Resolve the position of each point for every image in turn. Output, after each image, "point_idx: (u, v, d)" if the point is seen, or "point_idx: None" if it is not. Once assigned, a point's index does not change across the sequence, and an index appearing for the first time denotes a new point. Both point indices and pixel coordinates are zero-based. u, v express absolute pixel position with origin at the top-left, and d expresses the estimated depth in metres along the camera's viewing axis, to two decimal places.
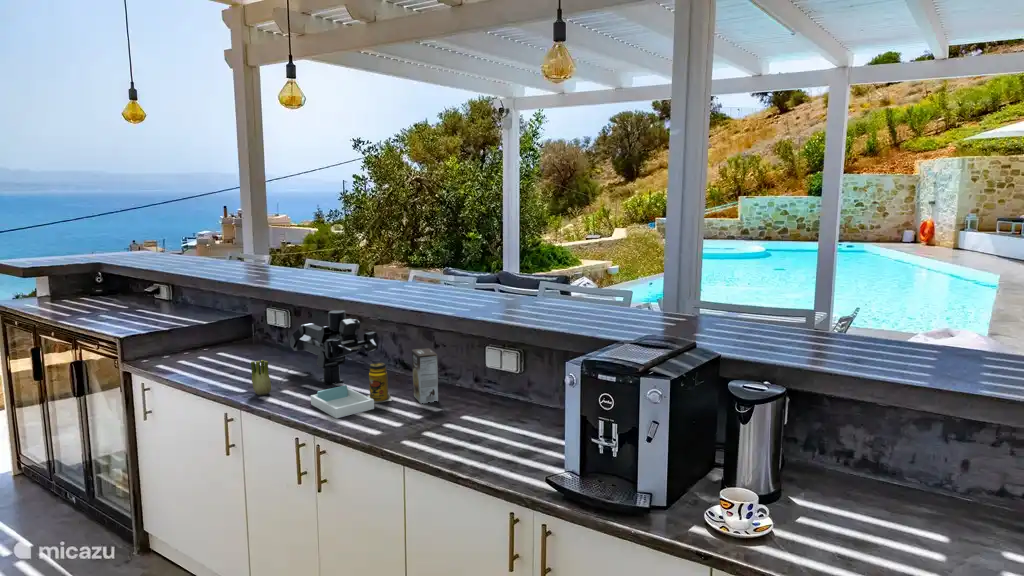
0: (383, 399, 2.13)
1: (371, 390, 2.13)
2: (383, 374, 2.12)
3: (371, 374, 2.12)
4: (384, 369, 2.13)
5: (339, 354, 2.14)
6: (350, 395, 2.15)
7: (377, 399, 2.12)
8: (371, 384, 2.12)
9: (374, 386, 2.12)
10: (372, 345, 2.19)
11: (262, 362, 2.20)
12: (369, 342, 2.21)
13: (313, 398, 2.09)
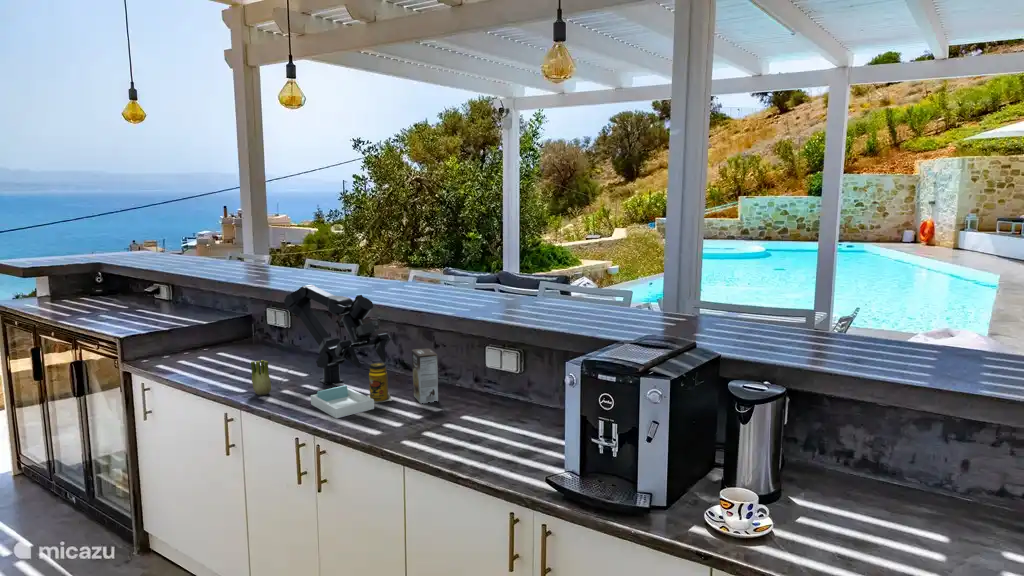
0: (383, 399, 2.13)
1: (371, 390, 2.13)
2: (383, 374, 2.12)
3: (371, 374, 2.12)
4: (384, 369, 2.13)
5: (348, 358, 2.16)
6: (350, 395, 2.15)
7: (377, 399, 2.12)
8: (371, 384, 2.12)
9: (374, 386, 2.12)
10: (381, 356, 2.21)
11: (262, 362, 2.20)
12: (380, 349, 2.22)
13: (313, 398, 2.09)
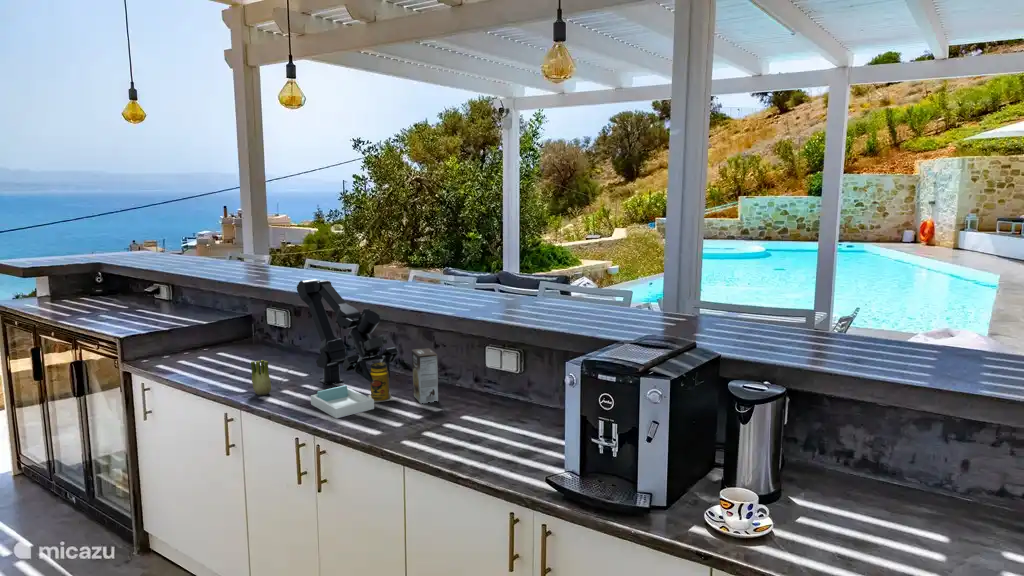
0: (384, 399, 2.13)
1: (372, 390, 2.13)
2: (384, 374, 2.12)
3: (372, 374, 2.12)
4: (385, 369, 2.13)
5: (360, 372, 2.14)
6: (350, 395, 2.15)
7: (378, 399, 2.13)
8: (372, 384, 2.12)
9: (375, 386, 2.12)
10: None
11: (262, 362, 2.20)
12: None
13: (313, 398, 2.09)
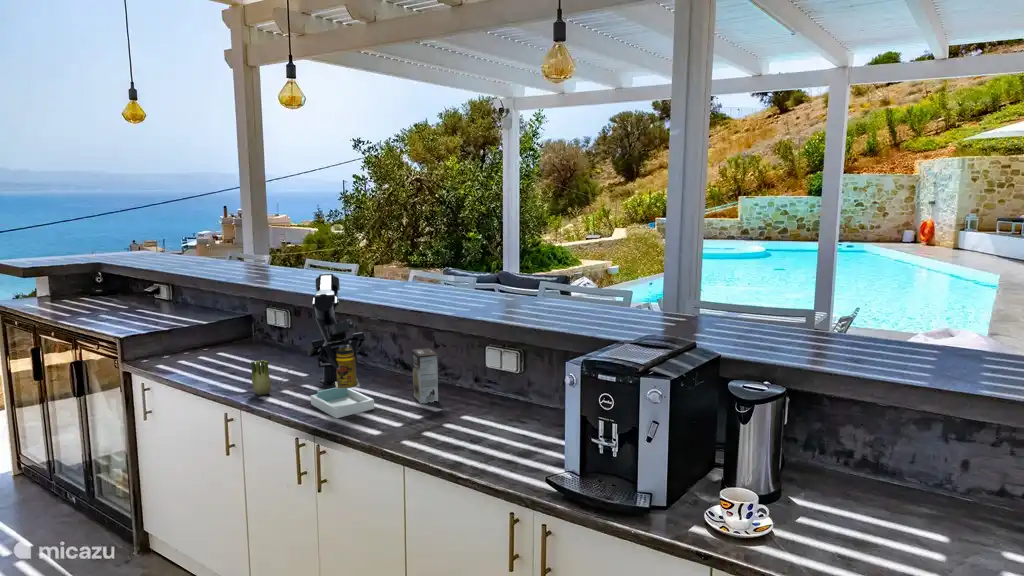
0: (351, 385, 2.06)
1: (338, 376, 2.05)
2: (350, 359, 2.05)
3: (338, 359, 2.04)
4: (351, 354, 2.05)
5: (325, 357, 2.06)
6: (350, 395, 2.15)
7: (345, 385, 2.05)
8: (338, 370, 2.05)
9: (341, 372, 2.04)
10: None
11: (262, 362, 2.20)
12: None
13: (313, 398, 2.09)
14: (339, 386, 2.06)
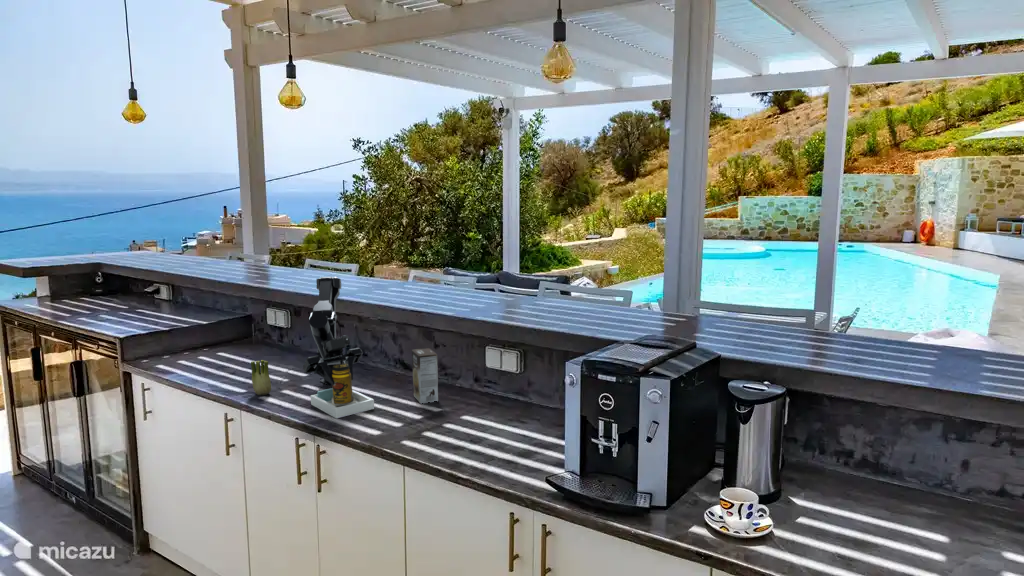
0: (347, 401, 2.06)
1: (334, 392, 2.05)
2: (346, 376, 2.05)
3: (334, 376, 2.04)
4: (347, 370, 2.05)
5: (321, 374, 2.06)
6: None
7: (340, 401, 2.05)
8: (334, 386, 2.05)
9: (337, 389, 2.04)
10: None
11: (262, 362, 2.20)
12: None
13: (313, 398, 2.09)
14: (335, 402, 2.06)
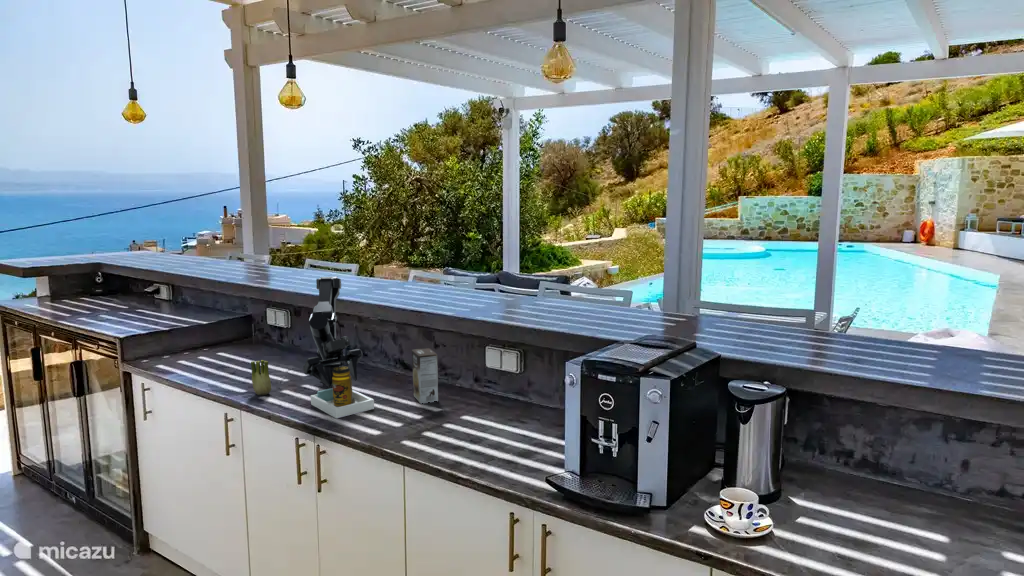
0: (347, 404, 2.06)
1: (334, 395, 2.05)
2: (347, 378, 2.05)
3: (334, 378, 2.04)
4: (348, 373, 2.05)
5: (317, 376, 2.05)
6: None
7: (340, 404, 2.05)
8: (334, 389, 2.05)
9: (337, 391, 2.04)
10: (353, 373, 2.10)
11: (262, 362, 2.20)
12: (351, 366, 2.11)
13: (313, 398, 2.09)
14: (335, 405, 2.06)
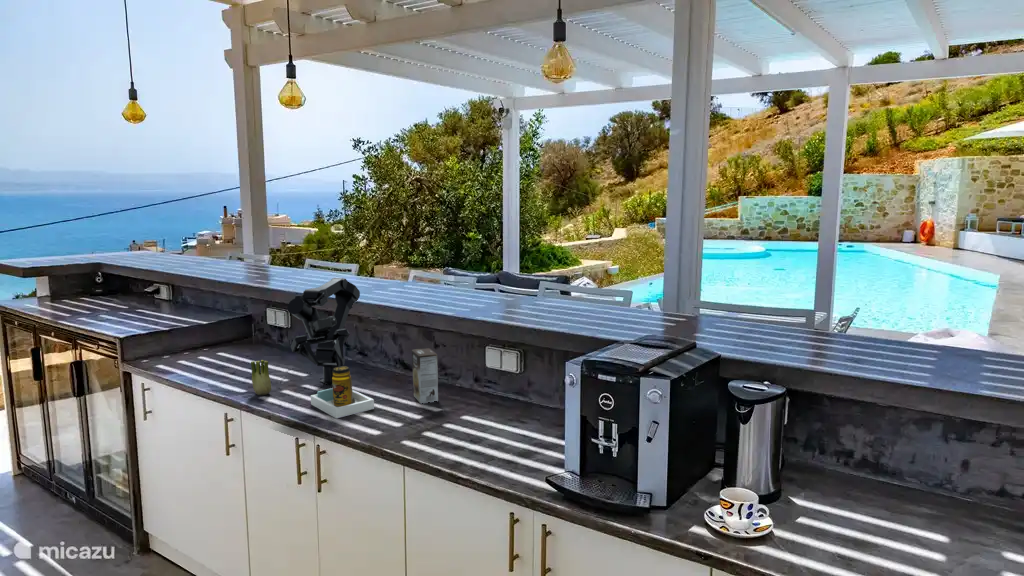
0: (347, 404, 2.06)
1: (334, 395, 2.05)
2: (347, 378, 2.05)
3: (334, 378, 2.04)
4: (348, 373, 2.05)
5: (304, 354, 2.11)
6: None
7: (340, 404, 2.05)
8: (334, 389, 2.05)
9: (337, 391, 2.04)
10: (339, 352, 2.16)
11: (262, 362, 2.20)
12: (338, 344, 2.17)
13: (313, 398, 2.09)
14: (335, 405, 2.06)
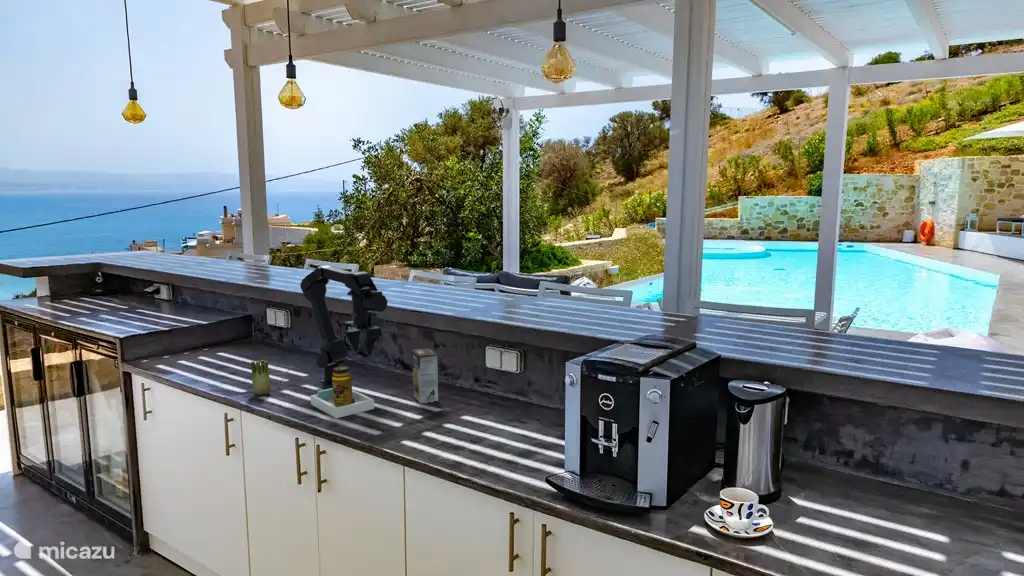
0: (347, 404, 2.06)
1: (334, 395, 2.05)
2: (347, 378, 2.05)
3: (334, 378, 2.04)
4: (348, 373, 2.05)
5: (367, 342, 2.17)
6: None
7: (340, 404, 2.05)
8: (334, 389, 2.05)
9: (337, 391, 2.04)
10: (356, 344, 2.27)
11: (262, 362, 2.20)
12: (357, 336, 2.27)
13: (313, 398, 2.09)
14: (335, 405, 2.06)
